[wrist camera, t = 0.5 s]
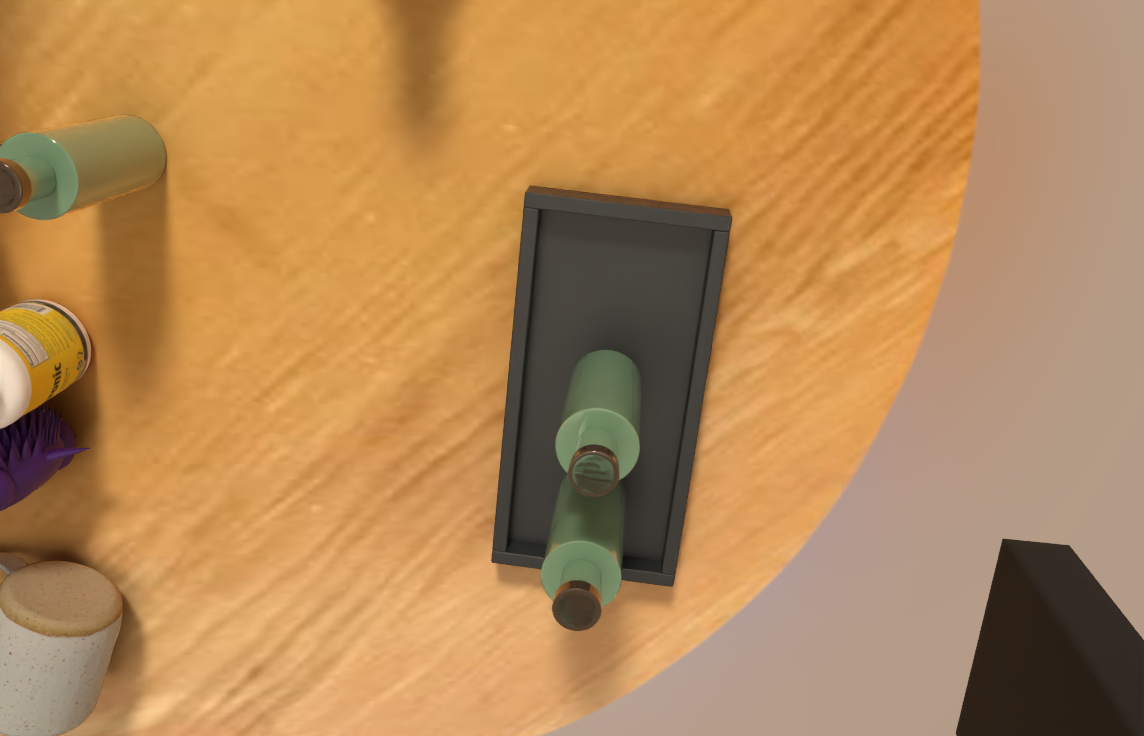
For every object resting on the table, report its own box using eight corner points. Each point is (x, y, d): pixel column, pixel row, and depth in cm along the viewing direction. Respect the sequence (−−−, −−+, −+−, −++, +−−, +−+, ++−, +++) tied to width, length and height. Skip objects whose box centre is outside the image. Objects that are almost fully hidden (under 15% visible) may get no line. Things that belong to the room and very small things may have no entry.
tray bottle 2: (560, 460, 59) (538, 567, 48) (630, 470, 59) (624, 578, 47) (554, 523, 60) (530, 640, 49) (621, 532, 60) (613, 652, 49)
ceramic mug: (151, 581, 64) (84, 652, 57) (120, 682, 67) (52, 762, 60) (-9, 515, 64) (-97, 578, 57) (-35, 619, 66) (-121, 692, 59)
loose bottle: (92, 110, 55) (-54, 134, 44) (165, 119, 55) (38, 145, 44) (95, 184, 56) (-45, 227, 45) (167, 193, 56) (44, 238, 45)
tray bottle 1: (574, 345, 57) (553, 427, 45) (646, 354, 56) (644, 439, 45) (566, 412, 58) (544, 508, 47) (637, 421, 58) (632, 520, 46)
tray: (529, 185, 55) (525, 191, 53) (729, 209, 54) (732, 216, 52) (496, 545, 62) (490, 563, 60) (672, 569, 61) (673, 587, 59)
